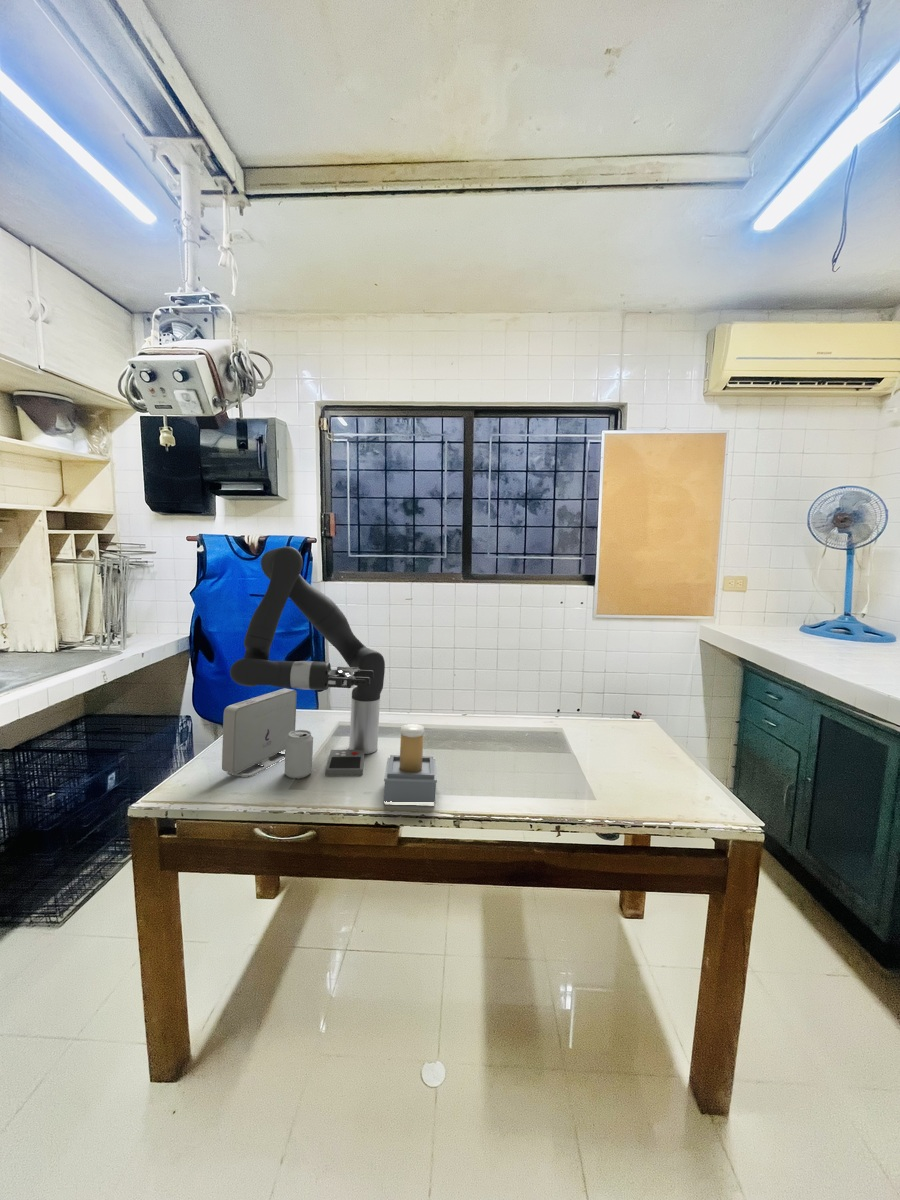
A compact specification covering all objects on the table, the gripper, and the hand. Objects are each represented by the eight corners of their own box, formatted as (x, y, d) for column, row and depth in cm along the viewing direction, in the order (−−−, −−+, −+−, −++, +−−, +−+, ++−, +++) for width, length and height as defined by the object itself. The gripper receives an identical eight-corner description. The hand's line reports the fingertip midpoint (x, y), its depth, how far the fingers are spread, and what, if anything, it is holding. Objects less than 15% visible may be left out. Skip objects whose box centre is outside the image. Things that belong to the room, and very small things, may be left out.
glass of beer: (400, 762, 127) (401, 723, 127) (422, 763, 127) (424, 724, 127) (398, 772, 121) (399, 731, 120) (421, 773, 121) (423, 732, 121)
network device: (238, 783, 125) (241, 710, 123) (213, 777, 127) (215, 705, 126) (300, 751, 149) (302, 689, 147) (278, 746, 151) (280, 686, 150)
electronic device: (364, 748, 149) (362, 768, 134) (364, 756, 149) (362, 776, 134) (331, 748, 147) (325, 768, 133) (330, 756, 147) (325, 777, 133)
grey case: (386, 781, 131) (388, 754, 130) (433, 783, 132) (435, 755, 131) (382, 805, 118) (384, 774, 117) (435, 807, 118) (437, 776, 118)
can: (303, 781, 128) (305, 738, 127) (278, 777, 130) (280, 735, 129) (316, 770, 135) (318, 730, 135) (293, 766, 137) (294, 727, 136)
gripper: (305, 666, 118) (369, 669, 119) (317, 656, 132) (374, 659, 133) (303, 696, 118) (368, 698, 119) (316, 682, 132) (373, 685, 133)
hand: (371, 678), depth 126 cm, fingers open, 8 cm apart
